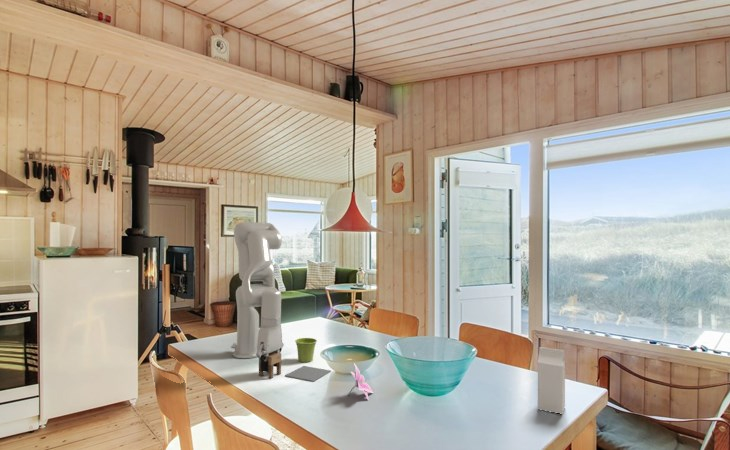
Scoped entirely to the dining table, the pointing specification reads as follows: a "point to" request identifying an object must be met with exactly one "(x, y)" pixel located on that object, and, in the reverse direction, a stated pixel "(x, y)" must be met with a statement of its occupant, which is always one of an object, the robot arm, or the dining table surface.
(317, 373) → the mat
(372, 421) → the dining table surface
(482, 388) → the dining table surface
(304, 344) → the plant pot
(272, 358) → the stool
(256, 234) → the robot arm
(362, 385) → the lily
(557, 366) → the milk carton
